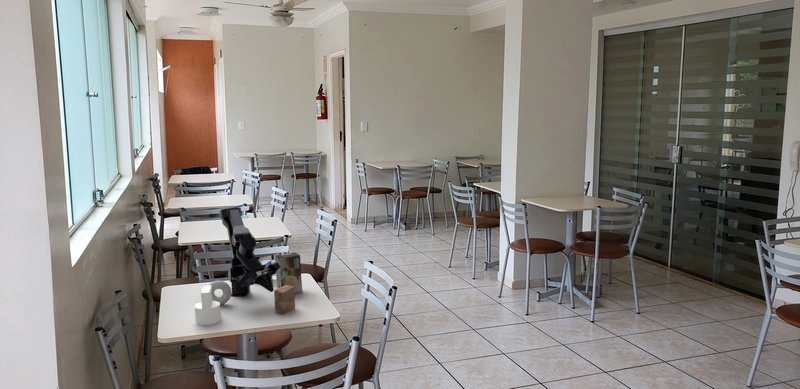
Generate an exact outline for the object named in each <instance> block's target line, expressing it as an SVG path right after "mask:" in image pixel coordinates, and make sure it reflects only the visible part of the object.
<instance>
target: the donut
mask: <svg viewBox="0 0 800 389" xmlns="http://www.w3.org/2000/svg"><path fill="white" fill-rule="evenodd" d="M209 285H212V300H213V301H217V302H219V303H220V306H223V305H225V304H226V303H228V302H229V301H230V299H231V297H232V296H231V294H232V287H231V286H230V284H228V283H227V282H226V281H224V280H213V281H212V282H210V283H209V284H208V285H207V286H209ZM216 290H221V291H222V294H221V296H217V295H215V291H216Z"/></svg>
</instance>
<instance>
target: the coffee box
mask: <svg viewBox="0 0 800 389" xmlns="http://www.w3.org/2000/svg"><path fill="white" fill-rule="evenodd" d="M274 261H275V262H276V263H278V264H279V265H280V268H279V269H278V270H277V271H276V273H275V276H276V277H275V278H276V279H275V280H276V289H278V288H281V287H283V286H285V285H288V286H294V292H295V294H298V293H302V292H303V283H302V269H301V267H302V265H301V264H302V263H301V255H300V254H299V253H297V252H295V251H294V252H287V253H281V254H275V255H274ZM275 262H274V263H275Z"/></svg>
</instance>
